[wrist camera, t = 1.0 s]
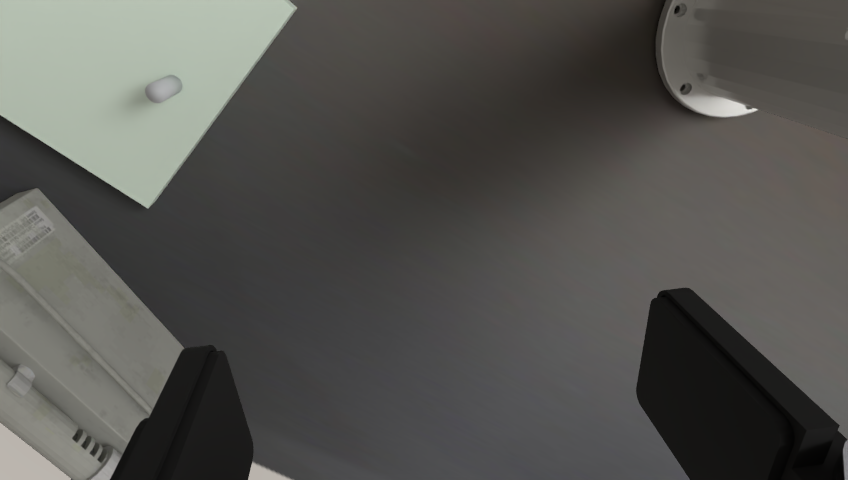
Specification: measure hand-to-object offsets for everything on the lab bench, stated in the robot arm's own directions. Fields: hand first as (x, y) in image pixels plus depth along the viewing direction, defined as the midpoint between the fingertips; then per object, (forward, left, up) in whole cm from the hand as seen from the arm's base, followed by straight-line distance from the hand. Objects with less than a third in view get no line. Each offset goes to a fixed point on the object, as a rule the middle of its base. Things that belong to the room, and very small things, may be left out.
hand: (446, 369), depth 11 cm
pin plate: (+9, -19, -29) cm, 36 cm away
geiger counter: (+28, -5, -29) cm, 41 cm away
